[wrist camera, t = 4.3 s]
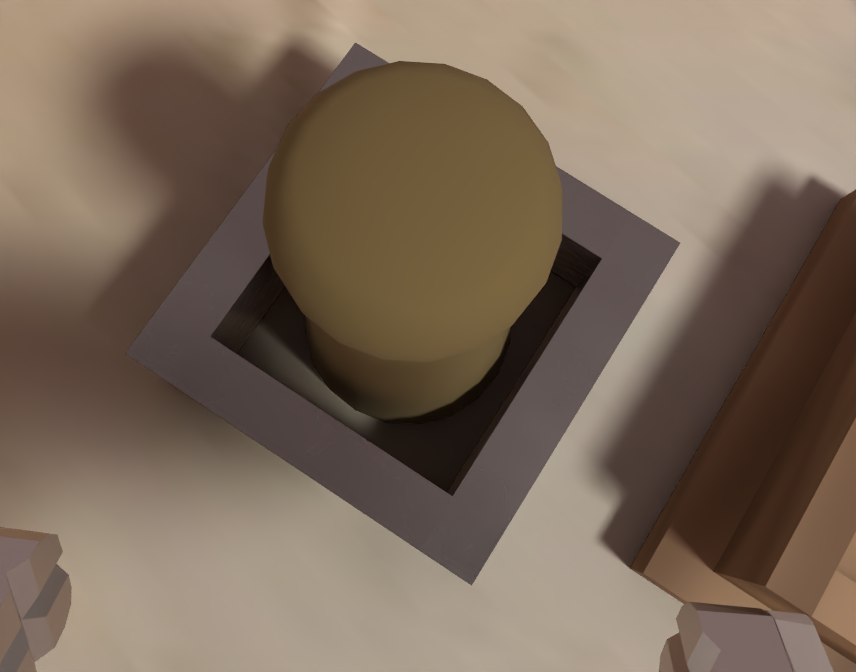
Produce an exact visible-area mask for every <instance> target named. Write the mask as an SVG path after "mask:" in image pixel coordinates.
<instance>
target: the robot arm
mask: <svg viewBox="0 0 856 672" xmlns="http://www.w3.org/2000/svg"><path fill="white" fill-rule="evenodd" d="M62 552H63V551H62V548H61V545H60V541H59V538H58V535H56V534H48V533H41V532H34V531H26V530H19V529H11V528H4V527H0V672H37V671H36V667H35V661H37V660H38V659H40V658H41V657H42V656H44V655H45V654H46V653H48V652H49V651H51V650H52V649H53V648H55V646H56V644H57V642H58V640H59V638H60V636H61V634H62V632H63V630H64V628H65V624H66V621H67V617H68V613H69V609H70V606H71V583H70V579H69V575H68V574H67V573H66V572H65V571H64V570H63V569H61V568H60V567H59V566H58V565H57V564H56V563H57V562H58V560H59V558H60V556H61V554H62ZM676 620H677V624H678V628H679V633H677V634H676V635H674V636H672V637H670V638H669V639H667V640H666V643H665V645H664V648H663V650H662V653H661V656H660V665H659V672H834V671H833V669H832V666H831V664H830V662H829V659H828V657H827V655H826V652H825V650H824V647H823V645H822V643H821V640H820V638H819V636H818V633H817V631H816V628H815V626H814V624H813V622H812V621H811V620H810V619H809V618H808V616H807V615H806V614H800V613H790V612H780V611H771V610H763V609H761V608H751V607H740V606H729V605H719V604H708V603H697V602H687V603H686V604H685V605H683V606H682V607H681V609H680V612H679V614H678V616H677V618H676Z"/></svg>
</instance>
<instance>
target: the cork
mask: <svg viewBox="0 0 856 672" xmlns="http://www.w3.org/2000/svg"><path fill="white" fill-rule="evenodd" d="M562 198H563V195H562V185H561V181H560V178H559V175H558V172H557V169H556V166H555V162H554V159H553V156H552V153H551V150H550V147H549V143H548V141H547V140H546V139H545V137H544V136H543V134H542V133H541V132H540V130H539V129H538V127H537V126H536V125H535V123H534V122H533V120H532V119H531V118H530V116H529V115H528V113H527V112H526V111H525V109H524V108H523V107H522V106H521V105H520V104H519V103H517V102H516V101H515V100H513V99H512V98H511V97H509V96H508V95H507V94H505V93H504V92H503V91H501V90H500V89H499V88H497V87H496V86H495V85H493V84H492V83H491V82H489V81H488V80H487V79H484V78H481V77H478V76H476V75H473V74H470V73H468V72H465V71H462V70H459V69H457V68H454V67H451V66H449V65H446V64H436V63H421V62H405V61H398V62H394V63H389V64H385V65H381V66H376V67H372V68H368V69H363V70H359V71H355V72H354V73H352V74H350V75H348V76H347V77H345V78H343V79H341V80H340V81H338V82H336V83H334V84H333V85H331V86H329V87H327V88H326V89H324V90H322V91H320V92H319V93H317V94H316V95H315V96H314V97H313V98H312V100H311V101H310V102H309V103H308V104H307V105H306V106H305V107H304V108H303V109H302V110H301V111H300V113H299V114H298V115H297V116H296V117H295V118H294V119H293V120H292V121H291V122H290V123H289V125H288V126H287V127H286V130H285V132H284V134H283V136H282V138H281V141H280V143H279V145H278V147H277V150H276V152H275V154H274V156H273V158H272V161H271V163H270V165H269V168H268V173H267V180H266V190H265V201H264V211H263V222H262V223H263V227H264V231H265V235H266V239H267V244H268V248H269V252H270V256H271V260H272V264H273V268H274V269H275V271H276V272H277V274H278V275H279V277H280V279H281V280H282V282H283V283H284V285H285V286H286V288H287V290H288V291H289V293H290V294H291V296H292V297H293V299H294V301H295V302H296V304H297V305H298V307H299V308H300V310H301V311H302V313H303V314H304V315H305V316H306V324H305V332H306V336H307V340H308V344H309V348H310V353H311V357H312V361H313V363H314V365H315V366H316V368H317V369H318V371H319V373H320V374H321V376H322V377H323V379H324V381H325V382H326V384H327V385H328V387H329V388H330V390H331V391H333V392H334V393H335V394H336V395H337V396H339V397H340V398H341V399H342V400H344V401H345V402H346V403H347V404H348V405H350V406H351V407H352V408H353V409H355V410H356V411H359V412H361V413H364V414H366V415H369V416H372V417H374V418H377V419H379V420H382V421H384V422H392V423H410V424H421V423H425V422H429V421H432V420H436V419H440V418H444V417H447V416H451V415H453V414H454V413H456V412H457V411H459V410H460V409H462V408H463V407H465V406H467V405H468V404H470V403H471V402H473V401H474V400H476V399H477V398H479V396H480V395H481V394H482V393H483V391H484V390H485V389H486V388H487V386H488V385H489V384H490V383H491V381H492V380H493V379H494V378H495V376H496V375H497V374H498V373H499V370H500V367H501V365H502V362H503V359H504V357H505V354H506V351H507V348H508V346H509V343H510V328H511V326H512V325H513V324H514V322H515V321H516V320H517V319H518V317H519V316H520V315H521V314H522V312H523V311H524V310H525V309H526V307H527V306H528V305H529V304H530V303H531V301H532V300H533V299H534V298H535V296H536V295H537V294H538V293H539V291H540V290H541V289H542V288H543V286H544V285H545V284H546V282H547V279H548V277H549V274H550V271H551V268H552V266H553V263H554V260H555V257H556V255H557V252H558V249H559V246H560V244H561V241H562Z"/></svg>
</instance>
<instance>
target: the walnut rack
mask: <svg viewBox="0 0 856 672" xmlns="http://www.w3.org/2000/svg"><path fill="white" fill-rule="evenodd" d="M630 569H632V570H633V571H635V572H636V573H638V574H639V575H641V576H642V577H644V578H645V579H647V580H649V581H650V582H652V583H653V584H655V585H656V586H658V587H659V588H661V589H662V590H664V591H665V592H667V593H668V594H670V595H671V596H673V597H674V598H676V599H677V600H679V601H681V602H682V603H684V604H686V603H687V602H697V603H708V604H719V605H729V606H740V607H751V608H761V609H763V610H771V611H780V612H790V613H800V614H806V615H807V616H808V618H809V619H810V620H811V621H812V622H813V624H814V626H815V628H816V631H817V633H818V636H819V638H820V640H821V643H822V645H823V647H824V650H825V652H826V655H827V657H828V659H829V662H830V664H831V666H832V669H833V671H834V672H856V190H854V191H853V192H851V193H850V194H848V195H847V196H845V197H843V198H842V199H841V200H840V202H839V203H838V205H837V207H836V209H835V210H834V212H833V214H832V216H831V217H830V219H829V221H828V223H827V224H826V226H825V228H824V230H823V231H822V233H821V235H820V237H819V238H818V240H817V242H816V244H815V245H814V247H813V249H812V251H811V252H810V254H809V256H808V258H807V259H806V261H805V263H804V265H803V266H802V268H801V270H800V272H799V273H798V275H797V277H796V279H795V280H794V282H793V284H792V286H791V287H790V289H789V291H788V293H787V294H786V296H785V298H784V300H783V301H782V303H781V305H780V307H779V308H778V310H777V312H776V314H775V315H774V317H773V319H772V321H771V322H770V324H769V326H768V328H767V329H766V331H765V333H764V335H763V336H762V338H761V340H760V341H759V343H758V345H757V347H756V348H755V350H754V352H753V354H752V355H751V357H750V359H749V361H748V362H747V364H746V366H745V368H744V369H743V371H742V373H741V375H740V376H739V378H738V380H737V382H736V383H735V385H734V387H733V389H732V390H731V392H730V394H729V396H728V397H727V399H726V401H725V403H724V404H723V406H722V408H721V410H720V411H719V413H718V415H717V417H716V418H715V420H714V422H713V424H712V425H711V427H710V429H709V431H708V432H707V434H706V436H705V438H704V439H703V441H702V443H701V445H700V446H699V448H698V450H697V452H696V453H695V455H694V457H693V459H692V460H691V462H690V464H689V466H688V467H687V469H686V471H685V473H684V474H683V476H682V478H681V480H680V481H679V483H678V485H677V487H676V488H675V490H674V492H673V494H672V495H671V497H670V499H669V501H668V502H667V504H666V506H665V508H664V509H663V511H662V513H661V515H660V516H659V518H658V520H657V522H656V523H655V525H654V527H653V529H652V530H651V532H650V534H649V536H648V537H647V539H646V541H645V543H644V544H643V546H642V548H641V550H640V551H639V553H638V555H637V557H636V558H635V560H634V562H633V564H632V565H631V567H630Z"/></svg>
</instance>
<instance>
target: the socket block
mask: <svg viewBox="0 0 856 672" xmlns="http://www.w3.org/2000/svg"><path fill="white" fill-rule="evenodd" d="M385 64H389V63H388V62H386V61H385V60H383V59H381V58H380V57H378V56H376V55H375V54H373V53H372V52H370V51H368V50H367V49H365V48H364V47H362V46H360V45H359V44H357V43H355V44H354V45H353V46H352V48H351V49H350V50H349V52H348V53H347V54H346V56H345V57H344V59H343V60H342V61H341V63H340V64H339V65H338V67H337V68H336V69H335V71H334V72H333V73H332V75H331V76H330V77H329V79H328V80H327V81H326V83H325V84H324V86H323V87H322V88H321V90H320V91H322V90H324V89H326V88H327V87H329V86H331V85H333V84H334V83H336V82H338V81H340V80H341V79H343V78H345V77H347V76H348V75H350V74H352V73H354V72H355V71H359V70H363V69H368V68H372V67H376V66H381V65H385ZM320 91H319V92H320ZM319 92H318V93H319ZM276 150H277V149H276ZM276 150H275V152H276ZM275 152H274V153H273V154H272V156H271V157H270V158H269V160H268V161H267V162H266V164H265V165H264V167H263V168H262V169H261V171H260V172H259V173H258V175H257V176H256V177H255V179H254V180H253V181H252V183H251V184H250V185H249V187H248V188H247V189H246V191H245V192H244V194H243V195H242V196H241V198H240V199H239V200H238V202H237V203H236V204H235V206H234V207H233V208H232V210H231V211H230V212H229V214H228V215H227V216H226V218H225V219H224V221H223V222H222V223H221V225H220V226H219V227H218V229H217V230H216V231H215V233H214V234H213V235H212V237H211V238H210V239H209V241H208V242H207V243H206V245H205V246H204V248H203V249H202V250H201V252H200V253H199V254H198V256H197V257H196V258H195V260H194V261H193V262H192V264H191V265H190V266H189V268H188V269H187V270H186V272H185V273H184V275H183V276H182V277H181V279H180V280H179V281H178V283H177V284H176V285H175V287H174V288H173V289H172V291H171V292H170V293H169V295H168V296H167V297H166V299H165V300H164V302H163V303H162V304H161V306H160V307H159V308H158V310H157V311H156V312H155V314H154V315H153V316H152V318H151V319H150V320H149V322H148V323H147V324H146V326H145V327H144V329H143V330H142V331H141V333H140V334H139V335H138V337H137V338H136V339H135V341H134V342H133V343H132V345H131V346H130V347H129V349H128V350H127V351H126V353H125V354H126V355H128V356H129V357H131V358H132V359H134V360H135V361H137V362H138V363H140V364H141V365H143V366H144V367H146V368H147V369H149V370H150V371H152V372H153V373H155V374H156V375H158V376H159V377H161V378H162V379H164V380H165V381H167V382H168V383H170V384H171V385H173V386H174V387H176V388H177V389H179V390H180V391H182V392H183V393H185V394H186V395H188V396H189V397H191V398H192V399H194V400H195V401H197V402H198V403H200V404H201V405H203V406H204V407H206V408H207V409H209V410H210V411H212V412H213V413H215V414H216V415H218V416H219V417H221V418H222V419H224V420H225V421H227V422H228V423H230V424H231V425H233V426H234V427H236V428H237V429H239V430H240V431H241V432H243V433H244V434H246V435H247V436H249V437H250V438H252V439H253V440H255V441H256V442H258V443H259V444H261V445H262V446H264V447H265V448H267V449H268V450H270V451H271V452H273V453H274V454H276V455H277V456H279V457H280V458H282V459H283V460H285V461H286V462H288V463H289V464H291V465H292V466H294V467H295V468H297V469H298V470H300V471H301V472H303V473H304V474H306V475H307V476H309V477H310V478H312V479H313V480H315V481H316V482H318V483H319V484H321V485H322V486H324V487H325V488H327V489H328V490H330V491H331V492H333V493H334V494H336V495H337V496H339V497H340V498H342V499H343V500H345V501H346V502H348V503H349V504H351V505H352V506H354V507H355V508H357V509H358V510H360V511H361V512H363V513H364V514H366V515H367V516H369V517H370V518H372V519H373V520H375V521H376V522H378V523H379V524H381V525H382V526H384V527H385V528H387V529H388V530H390V531H391V532H393V533H394V534H396V535H397V536H399V537H400V538H402V539H403V540H405V541H406V542H408V543H409V544H410V545H412V546H413V547H415V548H416V549H418V550H419V551H421V552H422V553H424V554H425V555H427V556H428V557H430V558H431V559H433V560H434V561H436V562H437V563H439V564H440V565H442V566H443V567H445V568H446V569H448V570H449V571H451V572H452V573H454V574H455V575H457V576H458V577H460V578H461V579H463V580H464V581H466V582H467V583H469V584H470V585H472V584H473V582H474V581H475V579H476V577H477V576H478V574H479V572H480V571H481V569H482V567H483V566H484V564H485V563H486V561H487V559H488V558H489V556H490V554H491V553H492V551H493V549H494V548H495V546H496V544H497V543H498V541H499V540H500V538H501V536H502V535H503V533H504V531H505V530H506V528H507V526H508V525H509V523H510V522H511V520H512V518H513V517H514V515H515V513H516V512H517V510H518V508H519V507H520V505H521V503H522V502H523V500H524V499H525V497H526V495H527V494H528V492H529V490H530V489H531V487H532V485H533V484H534V482H535V480H536V479H537V477H538V476H539V474H540V472H541V471H542V469H543V467H544V466H545V464H546V462H547V461H548V459H549V458H550V456H551V454H552V453H553V451H554V449H555V448H556V446H557V444H558V443H559V441H560V439H561V438H562V436H563V435H564V433H565V431H566V430H567V428H568V426H569V425H570V423H571V421H572V420H573V418H574V417H575V415H576V413H577V412H578V410H579V408H580V407H581V405H582V403H583V402H584V400H585V398H586V397H587V395H588V394H589V392H590V390H591V389H592V387H593V385H594V384H595V382H596V380H597V379H598V377H599V375H600V374H601V372H602V371H603V369H604V367H605V366H606V364H607V362H608V361H609V359H610V357H611V356H612V354H613V353H614V351H615V349H616V348H617V346H618V344H619V343H620V341H621V339H622V338H623V336H624V334H625V333H626V331H627V330H628V328H629V326H630V325H631V323H632V321H633V320H634V318H635V316H636V315H637V313H638V312H639V310H640V308H641V307H642V305H643V303H644V302H645V300H646V298H647V297H648V295H649V293H650V292H651V290H652V289H653V287H654V285H655V284H656V282H657V280H658V279H659V277H660V275H661V274H662V272H663V270H664V269H665V267H666V266H667V264H668V262H669V261H670V259H671V257H672V256H673V254H674V252H675V251H676V249H677V248H678V246H679V244H680V242H678V241H676V240H675V239H673V238H672V237H670V236H668V235H667V234H665V233H663V232H662V231H660V230H659V229H657V228H655V227H654V226H652V225H650V224H649V223H647V222H646V221H644V220H642V219H641V218H639V217H637V216H636V215H634V214H633V213H631V212H629V211H628V210H626V209H625V208H623V207H621V206H620V205H618V204H616V203H615V202H613V201H612V200H610V199H608V198H607V197H605V196H603V195H602V194H600V193H599V192H597V191H595V190H594V189H592V188H590V187H589V186H587V185H586V184H584V183H582V182H581V181H579V180H577V179H576V178H574V177H573V176H571V175H569V174H568V173H566V172H565V171H563V170H561V169H560V168H558V167H556V169H557V172H558V175H559V178H560V181H561V185H562V195H563V198H562V241H561V244H560V246H559V249H558V252H557V255H556V257H555V260H554V263H553V266H552V268H551V271H552V272H554V273H555V274H557V275H558V276H560V277H561V278H563V279H565V280H566V281H568V282H569V283H571V284H573V285H574V286H576V289H575V290H574V292H573V293H572V295H571V296H570V298H569V300H568V301H567V303H566V304H565V306H564V308H563V309H562V311H561V312H560V314H559V315H558V317H557V319H556V320H555V322H554V323H553V325H552V327H551V328H550V330H549V331H548V333H547V335H546V336H545V338H544V339H543V341H542V342H541V344H540V346H539V347H538V349H537V350H536V352H535V354H534V355H533V357H532V358H531V360H530V361H529V363H528V365H527V366H526V368H525V369H524V371H523V373H522V374H521V376H520V377H519V379H518V381H517V382H516V384H515V385H514V387H513V388H512V390H511V392H510V393H509V395H508V396H507V398H506V400H505V401H504V403H503V404H502V406H501V407H500V409H499V411H498V412H497V414H496V415H495V417H494V419H493V420H492V422H491V423H490V425H489V427H488V428H487V430H486V431H485V433H484V434H483V436H482V438H481V439H480V441H479V442H478V444H477V446H476V447H475V449H474V450H473V452H472V453H471V455H470V457H469V458H468V460H467V461H466V463H465V465H464V466H463V468H462V469H461V471H460V472H459V474H458V476H457V477H456V479H455V480H454V482H453V484H452V485H451V487H450V488H449V490H448V492H447V493H446V492H445V491H443V490H442V489H440V488H439V487H437V486H436V485H434V484H433V483H431V482H430V481H428V480H427V479H425V478H424V477H422V476H421V475H419V474H418V473H416V472H415V471H413V470H412V469H410V468H409V467H407V466H406V465H404V464H403V463H401V462H400V461H398V460H396V459H395V458H393V457H392V456H390V455H389V454H387V453H386V452H384V451H383V450H381V449H380V448H378V447H377V446H375V445H374V444H372V443H371V442H369V441H368V440H366V439H365V438H363V437H362V436H360V435H359V434H357V433H356V432H354V431H353V430H351V429H350V428H348V427H347V426H345V425H343V424H342V423H340V422H339V421H337V420H336V419H334V418H333V417H331V416H330V415H328V414H327V413H325V412H324V411H322V410H321V409H319V408H318V407H316V406H315V405H313V404H312V403H310V402H309V401H307V400H306V399H304V398H303V397H301V396H300V395H298V394H297V393H295V392H293V391H292V390H290V389H289V388H287V387H286V386H284V385H283V384H281V383H280V382H278V381H277V380H275V379H274V378H272V377H271V376H269V375H268V374H266V373H265V372H263V371H262V370H260V369H259V368H257V367H256V366H254V365H253V364H251V363H250V362H248V361H247V360H245V359H244V358H242V357H240V356H239V355H237V353H238V351H239V350H240V349H241V347H242V346H243V344H244V343H245V341H246V340H247V339H248V337H249V336H250V334H251V333H252V332H253V330H254V329H255V327H256V326H257V325H258V323H259V322H260V320H261V319H262V318H263V316H264V315H265V313H266V312H267V311H268V309H269V308H270V306H271V305H272V303H273V302H274V301H275V299H276V298H277V296H278V295H279V294H280V292H281V291H282V289H283V288H284V287H285V285H284V283H283V282H282V280H281V279H280V277H279V275H278V274H277V272H276V271H275V269H274V268H273V264H272V260H271V256H270V252H269V248H268V244H267V239H266V235H265V231H264V227H263V223H262V222H263V211H264V201H265V190H266V180H267V173H268V168H269V165H270V163H271V161H272V158H273V156H274V154H275Z"/></svg>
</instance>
